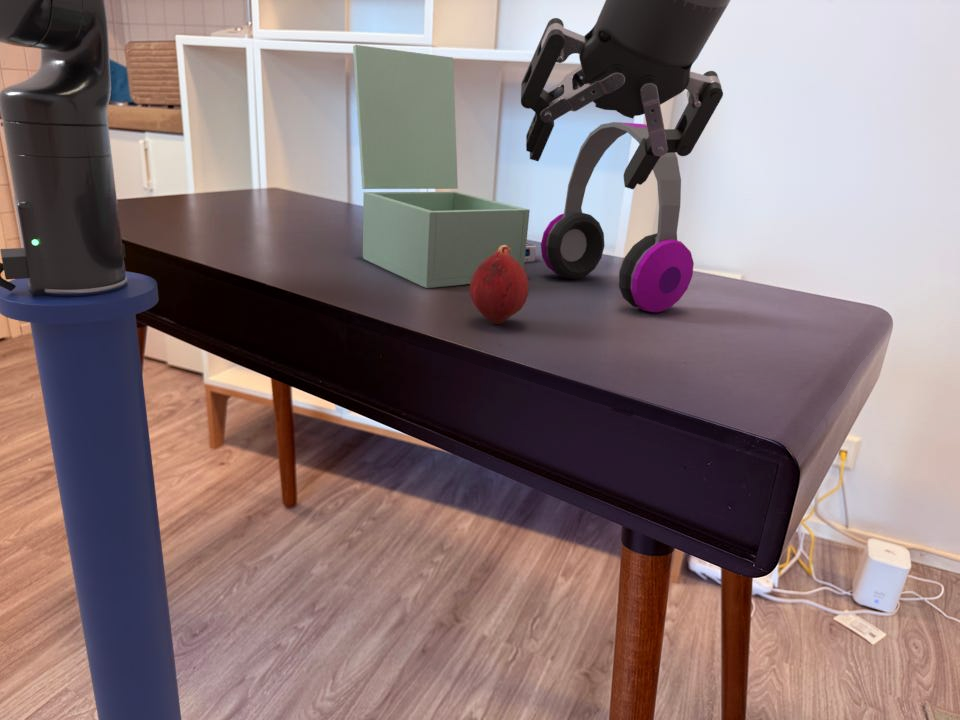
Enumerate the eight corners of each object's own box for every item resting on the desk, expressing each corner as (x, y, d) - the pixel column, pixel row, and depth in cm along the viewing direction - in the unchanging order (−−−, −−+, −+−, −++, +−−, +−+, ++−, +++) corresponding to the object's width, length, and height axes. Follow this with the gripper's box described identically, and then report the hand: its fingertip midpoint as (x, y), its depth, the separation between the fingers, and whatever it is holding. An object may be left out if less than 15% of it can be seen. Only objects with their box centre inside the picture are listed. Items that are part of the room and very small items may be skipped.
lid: (453, 57, 92) (436, 63, 95) (355, 44, 84) (340, 51, 87) (457, 188, 96) (441, 189, 99) (364, 188, 87) (350, 190, 91)
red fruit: (508, 337, 63) (516, 254, 61) (457, 324, 66) (462, 244, 63) (533, 323, 68) (542, 246, 65) (485, 312, 71) (490, 237, 68)
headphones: (532, 274, 89) (548, 116, 82) (584, 271, 93) (604, 121, 86) (634, 319, 72) (665, 125, 65) (693, 313, 76) (728, 130, 69)
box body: (523, 278, 87) (529, 209, 84) (426, 288, 78) (429, 212, 75) (452, 252, 99) (456, 191, 96) (362, 258, 91) (363, 192, 88)
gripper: (582, -42, 40) (499, 173, 52) (789, 32, 42) (663, 220, 55) (577, -89, 44) (502, 119, 57) (764, -19, 47) (653, 165, 59)
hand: (581, 168), depth 56 cm, fingers open, 8 cm apart
